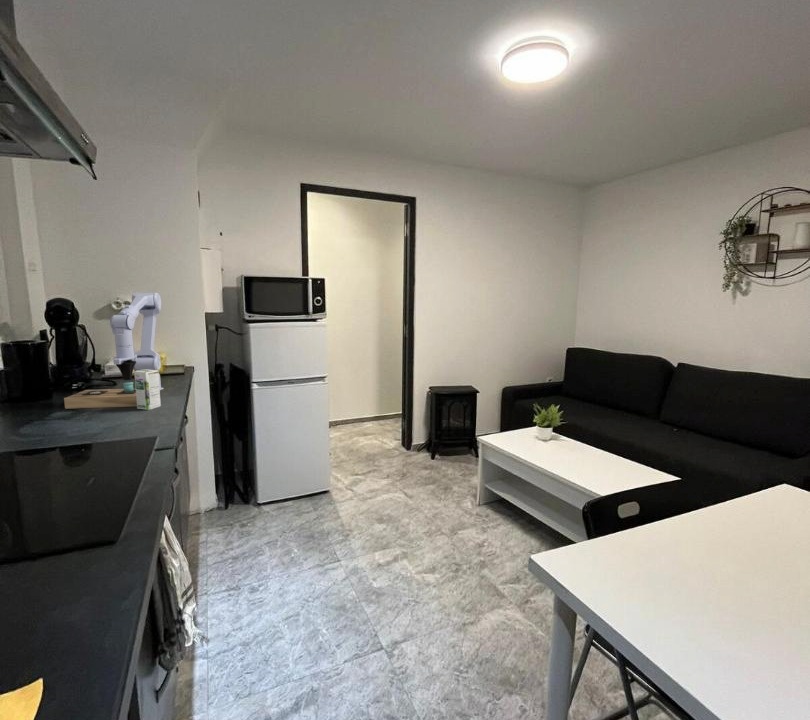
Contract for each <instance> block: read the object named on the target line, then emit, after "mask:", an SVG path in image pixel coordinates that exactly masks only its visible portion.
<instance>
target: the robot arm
mask: <svg viewBox="0 0 810 720" xmlns="http://www.w3.org/2000/svg"><path fill="white" fill-rule="evenodd" d="M161 298H162V297H161V295H160V294H159V293H158V292H137V291H136V292H133V293H132V295H131V303H130V304H129V305H128V304H125V306H124V307H123V308H122V309H121V310H120V311H119V312H118V314H113V315H112V316H111V317H110V319H109V325H110V328H111V330H112V335H114V344H115V345H114V346H115V353H116V354H115V355H116V356H113V365H116V367H117V368H118V369H119V371H120V373H121V377H122V379H123V380H124V381H130V380H132V377H133V373H134V372H135V371H138V370H144V369H148V370H158V375H159V389H160V391H162V390H164V387H162V385H161V383H162V382H161V374H160V373H159V370H160V369H161V368H162V360H161V355H160V354H159V353H158V352H156V350H155V342H156V341H155V339H156V328H157V327H156V326H157V317H158V314H160V313H161V309H162V299H161ZM140 314H141V315H142V316H143V320H142V331H141V342H140V349H139V350H138V351H136V352H135V351H134V341H133V339H134V338H133V331H132V330H133V329H134V327H135V324H136V320H137V318H138V317H139V316H140Z"/></svg>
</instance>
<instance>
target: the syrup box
mask: <svg viewBox="0 0 810 720" xmlns="http://www.w3.org/2000/svg"><path fill="white" fill-rule="evenodd" d="M133 373H134V384H135V389H136V398H137V406H136V409H137V410H146V411H150V410H153V409H156V408H160V407H161V406H162V404H161V403H162V402H161V390H160V389H159V375H158V373H159V371H158V370H148V369H144V370H138V371H133Z"/></svg>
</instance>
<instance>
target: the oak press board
mask: <svg viewBox="0 0 810 720" xmlns="http://www.w3.org/2000/svg"><path fill="white" fill-rule="evenodd" d="M133 389H134V392H129V393H124V388H115V389H114V388H112V389H110V388H108V389H106V388H105V389H84V390H81V391H79V392H77V393H74V394H72V395H69V396H67V397H64V398H63V400H64V401H63V402H64V408H65V409H67V410H68V409H70V410H71V409H90V408H91V409H96V408H121V407H122V408H124V407H137V398H136V388H133ZM91 392H100V393H96V394H90V393H91Z"/></svg>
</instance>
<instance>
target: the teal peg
mask: <svg viewBox="0 0 810 720" xmlns="http://www.w3.org/2000/svg"><path fill="white" fill-rule="evenodd" d="M122 385H123V389H124V393H129V392H134V389H135V388H134V381H125V382H123V383H122Z"/></svg>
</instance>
